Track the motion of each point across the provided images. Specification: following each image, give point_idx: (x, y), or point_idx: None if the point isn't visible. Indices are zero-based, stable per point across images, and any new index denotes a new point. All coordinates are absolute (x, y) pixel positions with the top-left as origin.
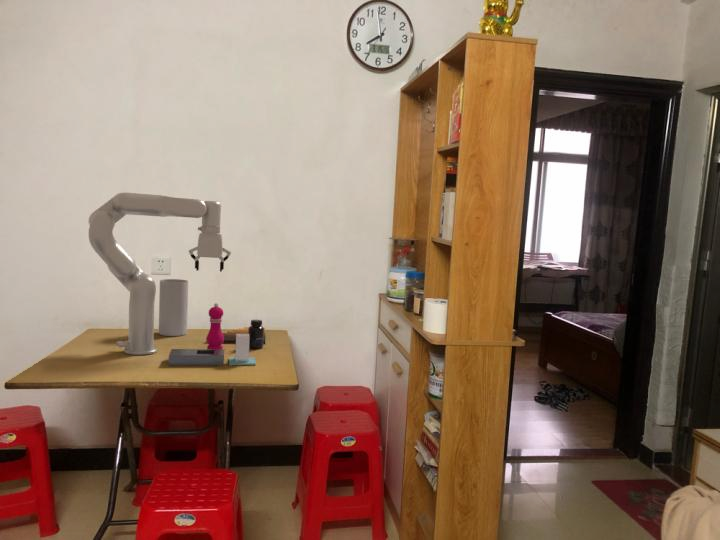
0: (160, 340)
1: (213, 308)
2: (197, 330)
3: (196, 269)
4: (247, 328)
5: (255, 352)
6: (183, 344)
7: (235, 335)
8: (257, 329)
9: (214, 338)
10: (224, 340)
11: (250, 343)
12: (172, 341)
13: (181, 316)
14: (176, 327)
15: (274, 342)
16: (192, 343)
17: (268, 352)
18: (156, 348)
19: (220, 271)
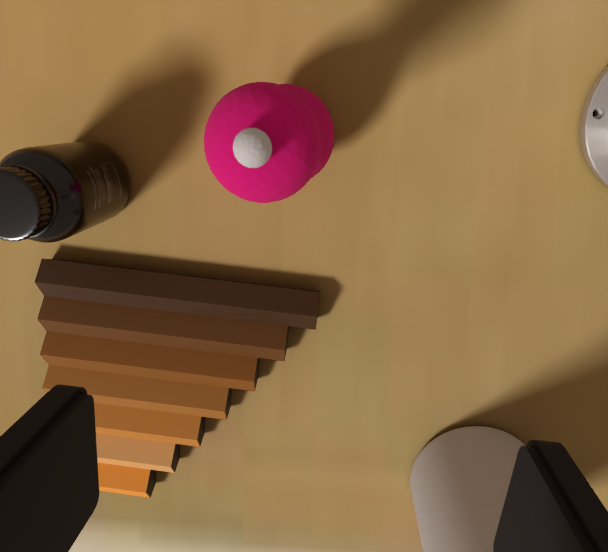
0: (539, 353)
1: (279, 113)
2: (358, 530)
3: (565, 449)
4: (132, 482)
5: (89, 72)
6: (437, 266)
7: (184, 333)
8: (24, 150)
9: (288, 85)
10: (240, 283)
11: (105, 154)
12: (484, 330)
13: (460, 501)
14: (471, 452)
15: (10, 284)
16: (393, 285)
17: (25, 69)
18: (591, 120)
19: (82, 387)
